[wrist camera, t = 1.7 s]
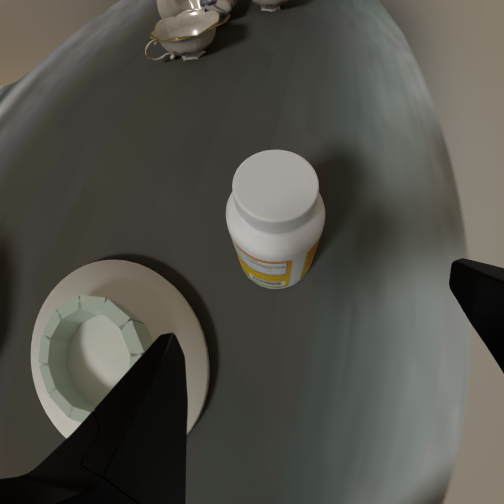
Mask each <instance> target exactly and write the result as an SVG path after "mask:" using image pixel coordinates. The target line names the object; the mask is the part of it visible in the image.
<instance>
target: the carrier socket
mask: <svg viewBox="0 0 504 504" xmlns="http://www.w3.org/2000/svg"><path fill="white" fill-rule="evenodd" d="M166 333H174V334H175V335H176V337H177V339H178V341H179V344H180V346H181V348H182V350H183V353H184V356H185V364H186V380H187V394H188V418H187V435H188V433H189V432H190V431H191V430H192V429H193V427H194V425H195V424H196V422H197V420H198V419H199V417H200V415H201V412H202V410H203V407H204V405H205V401H206V398H207V394H208V388H209V380H210V360H209V352H208V346H207V343H206V339H205V335H204V332H203V329H202V327H201V324H200V322H199V320H198V318H197V316H196V314H195V312H194V310H193V309H192V307H191V306H190V304H189V303H188V302H187V300H186V299H185V297H184V296H183V295H182V294H181V293H180V292H179V291H178V290H177V289H176V288H175V287H174V286H173V285H172V284H171V283H169V282H168V281H167V280H166V279H165V278H163V277H162V276H161V275H159V274H158V273H156V272H154V271H153V270H151V269H149V268H147V267H145V266H142V265H140V264H137V263H133V262H130V261H124V260H103V261H98V262H93V263H90V264H88V265H85V266H83V267H81V268H79V269H77V270H75V271H73V272H72V273H71V274H69V275H68V276H66V277H65V278H64V279H63V280H62V281H61V282H60V283H59V284H58V285H57V286H56V287H55V288H54V289H53V290H52V292H51V293H50V294H49V296H48V297H47V299H46V300H45V302H44V304H43V306H42V308H41V310H40V312H39V315H38V317H37V320H36V323H35V327H34V331H33V336H32V343H31V368H32V374H33V380H34V384H35V387H36V391H37V394H38V396H39V399H40V402H41V404H42V406H43V408H44V410H45V412H46V414H47V415H48V417H49V418H50V420H51V421H52V423H53V424H54V425H55V427H56V428H57V429H58V430H59V431H60V433H61V434H62V435H63V436H64V437H65V438H68V437H69V436H70V435H71V434H72V433H73V432H74V431H75V430H76V429H77V428H78V427H79V425H80V424H81V423H82V422H83V421H84V420H85V419H86V418H87V417H88V415H89V414H90V413H91V412H92V411H94V409H95V408H96V406H97V405H98V404H99V403H100V402H101V401H102V400H103V398H104V397H105V396H106V395H107V394H108V393H109V392H110V391H111V389H112V388H113V387H114V386H115V385H116V384H117V383H118V382H119V380H120V379H121V378H122V377H123V376H124V375H125V374H126V372H127V371H128V370H129V369H130V368H131V367H132V366H133V365H134V363H135V362H136V361H137V360H138V359H139V358H140V357H141V356H142V355H143V353H144V352H145V351H146V350H147V349H148V348H149V347H150V346H151V344H152V343H153V342H154V341H155V340H156V339H157V338H158V337H159V336H160V335H161V334H166Z"/></svg>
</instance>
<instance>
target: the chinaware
mask: <svg viewBox="0 0 504 504" xmlns="http://www.w3.org/2000/svg"><path fill="white" fill-rule="evenodd" d="M236 1H237V0H157V6H158V11H159V14H160V16H161V18H162V19H161V20H159V21H158V22H157V23H156V25H155V28H154V31H153V32H151V33H150V37H151V38H152V39H154V40H152V41H150V42H149V43H148V44H147V46H146V49H145V54H146V56H147V58H148V59H150V60H152V61H158V60H160V59H162V58H163V57H165V56H166V55H168V54H170V59H171V60H173V59H174V58H175V57H176V55H178V56H182V58H183V59H184V60H183V61H185V60H189V59H198V57H200V56H201V55H202V54H203V53H205V52H206V51H204V49H206V48H207V47H208V46H209V45H210V43H211V42H212V40H213V39H214V36H215V32H216V27H218V26H220V25H222V24H224V23H226V22H227V21H228V20H229V19H230V12H231V10H232V8H233V7H234V5H235V4H236ZM252 1H253V2H254V3H256V4H257V5H259V6H260V7H261V10H265V11H271V12H272V11H275V10H281V9H280V7H279V6H281V5H283V4H285V3H286V2H287V1H288V0H252ZM155 41H156V42H155ZM158 41H159V42H160V43H161V44H162V46H163V47H164V48H165V49H166V50H167V51H169V52H170V53H166V54H164V55H163V56H161V57H160V58H151V57H150V56H149V55H148V52H147V51H148V47H149V46H150V44H151V43H154V45H156V43H157V42H158Z"/></svg>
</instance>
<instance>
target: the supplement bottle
mask: <svg viewBox="0 0 504 504" xmlns="http://www.w3.org/2000/svg"><path fill="white" fill-rule="evenodd" d="M232 188H233V191H232V193H231V195H230V197H229V200H228V203H227V207H226V221H227V225H228V229H229V233H230V235H231V238H232V241H233V243H234V246H235V249H236V252H237V255H238V258H239V261H240V264H241V266H242V268H243V270H244V272H245V274H246V275H247V276H248V277H249V278H250V279H251V280H252V281H253V282H255V283H256V284H258V285H260V286H263V287H266V288H271V289H281V288H286V287H289V286H291V285H294V284H295V283H297V282H298V281H300V280H301V279H302V278H303V277H304V276H305V274H306V273H307V272H308V270H309V268H310V266H311V263H312V260H313V257H314V254H315V251H316V249H317V246H318V243H319V240H320V237H321V235H322V231H323V227H324V222H325V207H324V203H323V200H322V197H321V195H320V193H319V181H318V177H317V174H316V172H315V170H314V169H313V167H312V166H311V165H310V164H309V163H308V162H307V161H306V160H305V159H304V158H302V157H301V156H299V155H297V154H295V153H292V152H289V151H285V150H267V151H262V152H259V153H256V154H254V155H252V156H251V157H249V158H248V159H246V160H245V161H244V162H243V163H242V164H241V165H240V166H239V168H238V169H237V171H236V173H235V175H234V178H233V185H232Z"/></svg>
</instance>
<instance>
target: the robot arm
mask: <svg viewBox="0 0 504 504" xmlns="http://www.w3.org/2000/svg"><path fill="white" fill-rule="evenodd" d="M449 286H450V289H451V291H452V293H453V294H454V296H455V298H456V299H457V301H458V302H459V304H460V306H461V308H462V309H463V311H464V313H465V314H466V316H467V318H468V319H469V321H470V323H471V324H472V326H473V327H474V329H475V330H476V331H477V333H478V334H479V336H480V337H481V339H482V340H483V342H484V343H485V345H486V346H487V347H488V349H489V351H490V352H491V354H492V355H493V357H494V359H495V360H496V362H497V363H498V365H499V366H500V368H501V370H502V371H503V373H504V268H501V267H496V266H493V265H489V264H484V263H480V262H476V261H472V260H468V259H464V258H462V259H458V260H456V261H454V262H453V263H452V265H451V273H450V280H449ZM187 418H188V394H187V380H186V364H185V356H184V353H183V350H182V348H181V346H180V344H179V341H178V339H177V337H176V335H175V334H174V333H166V334H161V335H160V336H159V337H158V338H157V339H156V340H155V341H154V342H153V343H152V344H151V346H150V347H149V348H148V349H147V350H146V351H145V352H144V353H143V355H142V356H141V357H140V358H139V359H138V360H137V361H136V362H135V363H134V365H133V366H132V367H131V368H130V369H129V370H128V371H127V372H126V374H125V375H124V376H123V377H122V378H121V379H120V380H119V382H118V383H117V384H116V385H115V386H114V387H113V388H112V389H111V391H110V392H109V393H108V394H107V395H106V396H105V397H104V398H103V400H102V401H101V402H100V403H99V404H98V405H97V406H96V408H95V409H94V411H92V412H91V413H90V414H89V415H88V417H87V418H86V419H85V420H84V421H83V422H82V423H81V424H80V425H79V427H78V428H77V429H76V430H75V431H74V432H73V433H72V434H71V435H70V436H69V437H68V438H67V439H66V440H65V441H64V442H63V443H62V444H61V445H60V446H59V447H57V448H56V449H55V450H54V451H53V452H52V453H51V454H50V455H49V456H48V457H47V458H46V459H45V460H44V461H43V462H42V463H41V464H39V465H38V466H37V467H36V468H35V469H34V470H32V471H31V472H29V473H27V474H25V475H22V476H19V477H13V478H5V479H0V504H185V489H186V443H187Z"/></svg>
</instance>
